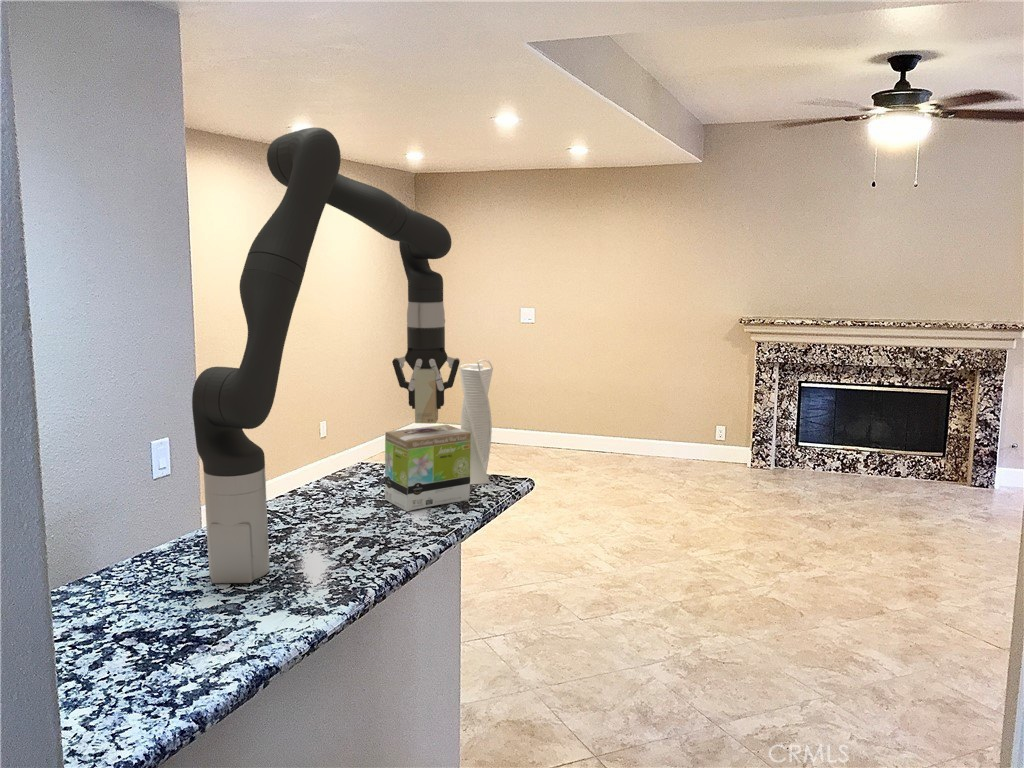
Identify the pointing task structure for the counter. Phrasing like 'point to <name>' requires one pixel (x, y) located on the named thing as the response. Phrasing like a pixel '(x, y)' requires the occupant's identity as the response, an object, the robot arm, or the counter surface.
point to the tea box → (427, 466)
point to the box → (426, 396)
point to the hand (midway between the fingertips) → (426, 407)
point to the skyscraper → (477, 417)
